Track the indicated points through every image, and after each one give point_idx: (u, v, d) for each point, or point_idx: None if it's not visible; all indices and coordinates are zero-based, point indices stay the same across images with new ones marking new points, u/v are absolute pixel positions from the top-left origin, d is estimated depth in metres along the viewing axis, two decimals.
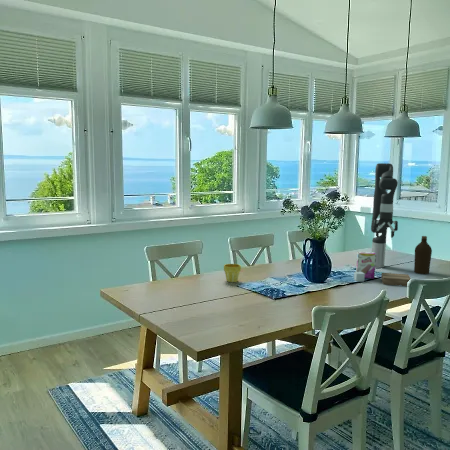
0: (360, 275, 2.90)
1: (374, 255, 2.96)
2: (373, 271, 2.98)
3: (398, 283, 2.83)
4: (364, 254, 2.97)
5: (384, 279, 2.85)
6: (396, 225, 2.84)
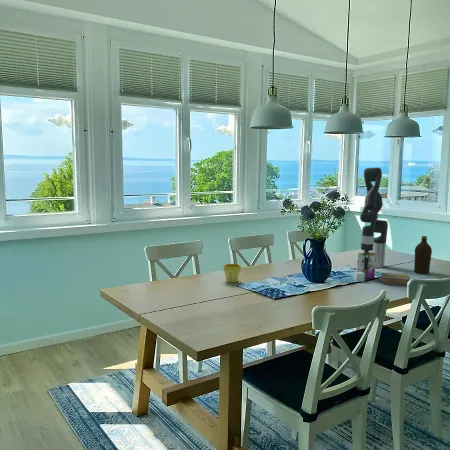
0: (360, 275, 2.90)
1: (374, 255, 2.96)
2: (373, 271, 2.98)
3: (398, 283, 2.83)
4: (364, 254, 2.97)
5: (384, 279, 2.85)
6: None
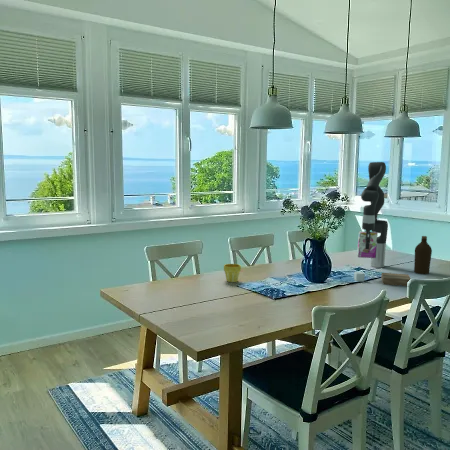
0: (360, 275, 2.90)
1: (375, 234, 2.94)
2: (374, 250, 2.96)
3: (398, 283, 2.83)
4: (365, 233, 2.95)
5: (384, 279, 2.85)
6: None
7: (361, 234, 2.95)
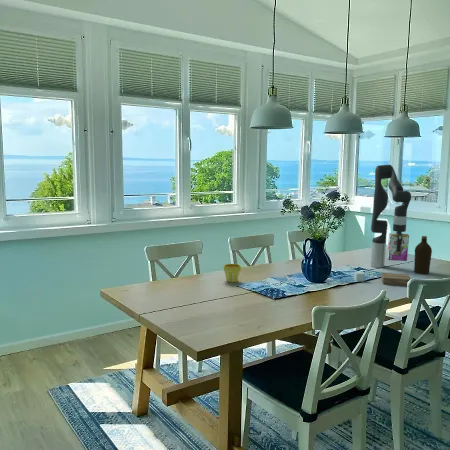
0: (360, 275, 2.90)
1: (407, 236, 2.83)
2: (406, 253, 2.85)
3: (398, 283, 2.83)
4: (396, 235, 2.84)
5: (384, 279, 2.85)
6: None
7: (392, 236, 2.84)
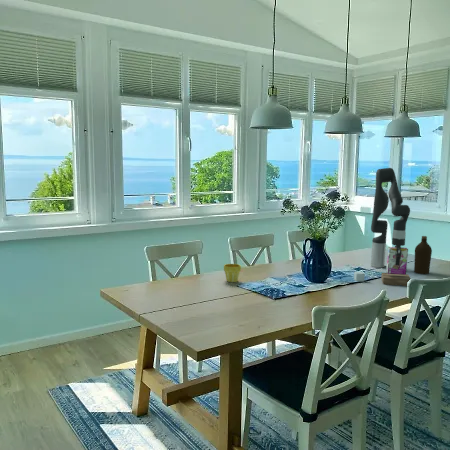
0: (360, 275, 2.90)
1: (406, 250, 2.85)
2: (405, 267, 2.86)
3: (398, 283, 2.83)
4: (395, 249, 2.85)
5: (384, 279, 2.85)
6: None
7: (391, 250, 2.85)
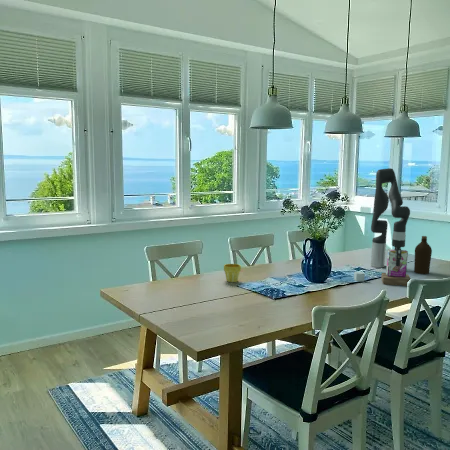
0: (360, 275, 2.90)
1: (406, 253, 2.85)
2: (405, 269, 2.86)
3: (398, 283, 2.83)
4: None
5: (384, 279, 2.85)
6: None
7: (391, 252, 2.86)
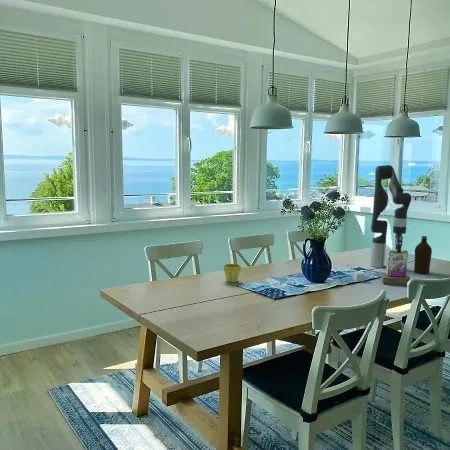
0: (360, 275, 2.90)
1: (406, 253, 2.85)
2: (405, 269, 2.86)
3: (398, 283, 2.83)
4: (395, 252, 2.85)
5: (384, 279, 2.85)
6: None
7: (391, 252, 2.86)
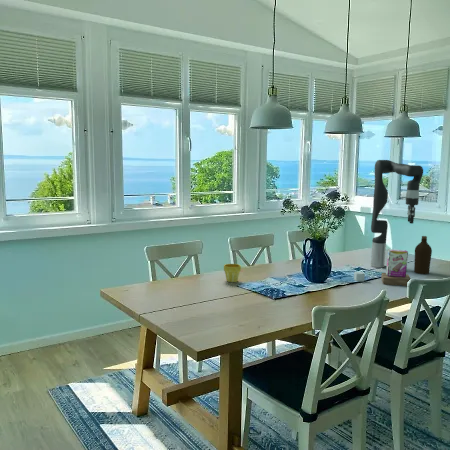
0: (360, 275, 2.90)
1: (406, 253, 2.85)
2: (405, 269, 2.86)
3: (398, 283, 2.83)
4: (395, 252, 2.85)
5: (384, 279, 2.85)
6: None
7: (391, 252, 2.86)
